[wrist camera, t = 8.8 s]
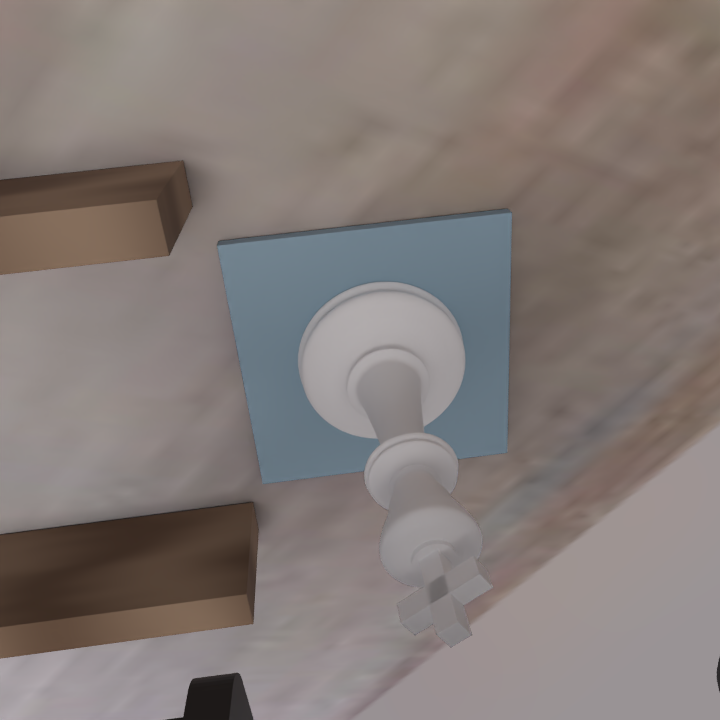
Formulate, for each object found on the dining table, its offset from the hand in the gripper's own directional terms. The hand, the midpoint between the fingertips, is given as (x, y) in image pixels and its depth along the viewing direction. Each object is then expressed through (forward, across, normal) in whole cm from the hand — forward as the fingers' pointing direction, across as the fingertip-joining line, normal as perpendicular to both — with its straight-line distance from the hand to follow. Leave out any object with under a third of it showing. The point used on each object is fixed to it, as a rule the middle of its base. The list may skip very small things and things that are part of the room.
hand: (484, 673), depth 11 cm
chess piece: (+11, +1, 0) cm, 11 cm away
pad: (+11, +1, 0) cm, 11 cm away
